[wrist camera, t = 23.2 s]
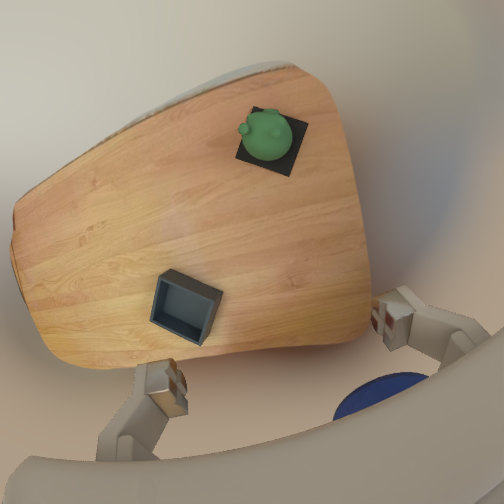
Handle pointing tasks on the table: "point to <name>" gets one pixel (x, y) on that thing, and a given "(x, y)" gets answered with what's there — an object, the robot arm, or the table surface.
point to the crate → (185, 306)
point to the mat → (288, 159)
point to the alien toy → (266, 135)
